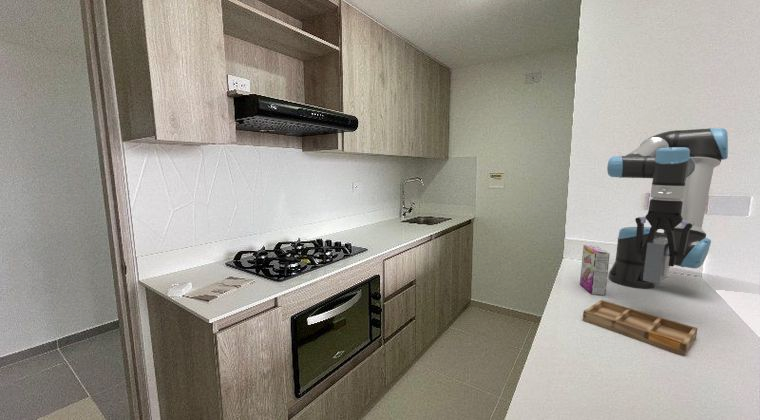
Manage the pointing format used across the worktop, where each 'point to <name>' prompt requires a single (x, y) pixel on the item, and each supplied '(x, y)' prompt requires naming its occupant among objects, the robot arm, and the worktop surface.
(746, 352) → the worktop surface
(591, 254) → the candy bar box
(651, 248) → the panel
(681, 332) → the bay rack
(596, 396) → the worktop surface
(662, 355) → the worktop surface
